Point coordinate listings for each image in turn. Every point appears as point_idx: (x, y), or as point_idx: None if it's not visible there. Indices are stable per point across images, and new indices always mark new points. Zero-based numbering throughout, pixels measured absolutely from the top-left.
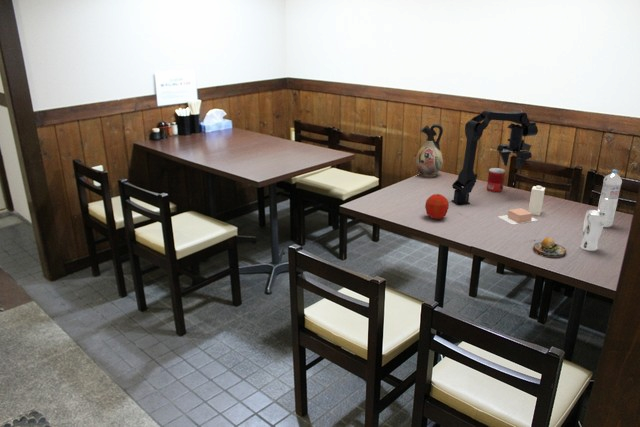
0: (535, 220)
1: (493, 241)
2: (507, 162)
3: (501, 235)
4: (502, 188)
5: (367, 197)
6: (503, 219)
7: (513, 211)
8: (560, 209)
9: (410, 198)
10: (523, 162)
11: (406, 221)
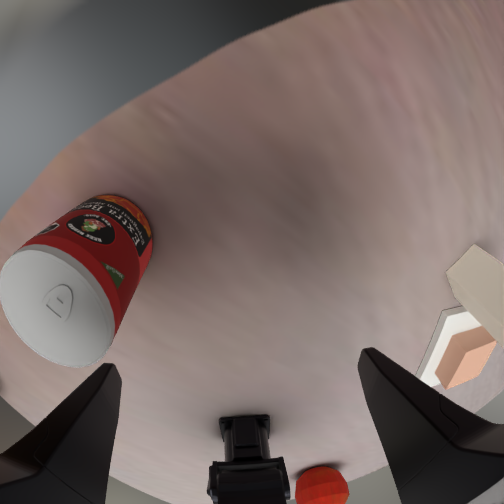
0: None
1: None
2: (99, 394)
3: (456, 399)
4: (139, 218)
5: (160, 498)
6: (433, 385)
7: (458, 381)
8: (478, 119)
9: (177, 476)
10: (467, 415)
11: None
